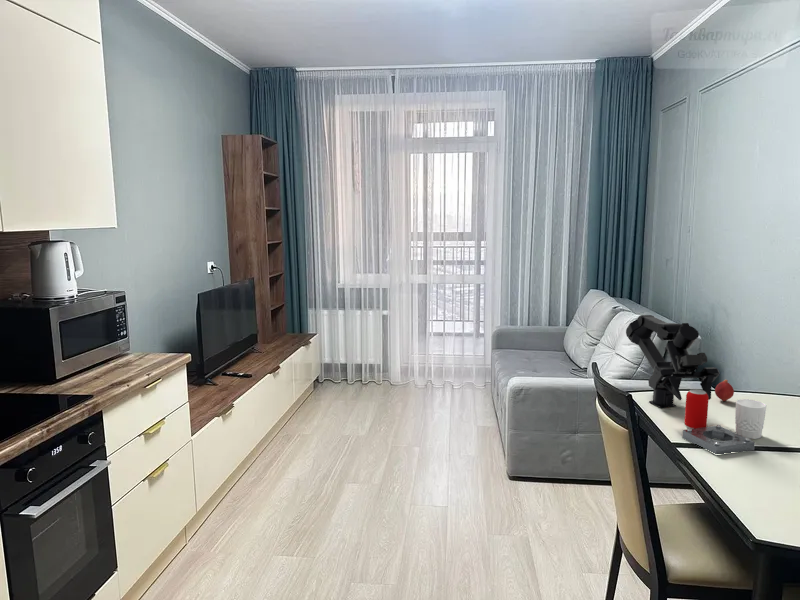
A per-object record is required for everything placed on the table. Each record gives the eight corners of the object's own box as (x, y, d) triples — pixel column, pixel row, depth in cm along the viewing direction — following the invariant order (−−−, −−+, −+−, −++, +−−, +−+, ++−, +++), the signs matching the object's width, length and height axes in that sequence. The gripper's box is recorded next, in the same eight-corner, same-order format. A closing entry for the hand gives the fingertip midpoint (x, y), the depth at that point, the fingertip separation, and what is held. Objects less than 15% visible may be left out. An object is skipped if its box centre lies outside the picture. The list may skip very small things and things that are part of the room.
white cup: (761, 432, 173) (764, 400, 171) (765, 441, 166) (768, 409, 164) (731, 428, 176) (734, 397, 175) (734, 437, 169) (737, 405, 168)
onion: (717, 403, 198) (719, 381, 197) (711, 398, 204) (713, 376, 203) (735, 404, 198) (737, 382, 196) (729, 398, 203) (730, 377, 202)
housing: (682, 437, 169) (682, 428, 169) (718, 433, 172) (718, 423, 172) (716, 455, 157) (716, 445, 156) (754, 450, 160) (755, 439, 159)
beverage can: (694, 423, 181) (697, 387, 179) (710, 430, 175) (713, 393, 173) (679, 425, 179) (682, 389, 177) (695, 432, 173) (698, 395, 171)
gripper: (660, 344, 179) (675, 388, 170) (718, 343, 179) (737, 386, 170) (648, 361, 188) (661, 404, 179) (703, 360, 188) (720, 403, 179)
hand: (695, 399), depth 177 cm, fingers open, 9 cm apart
